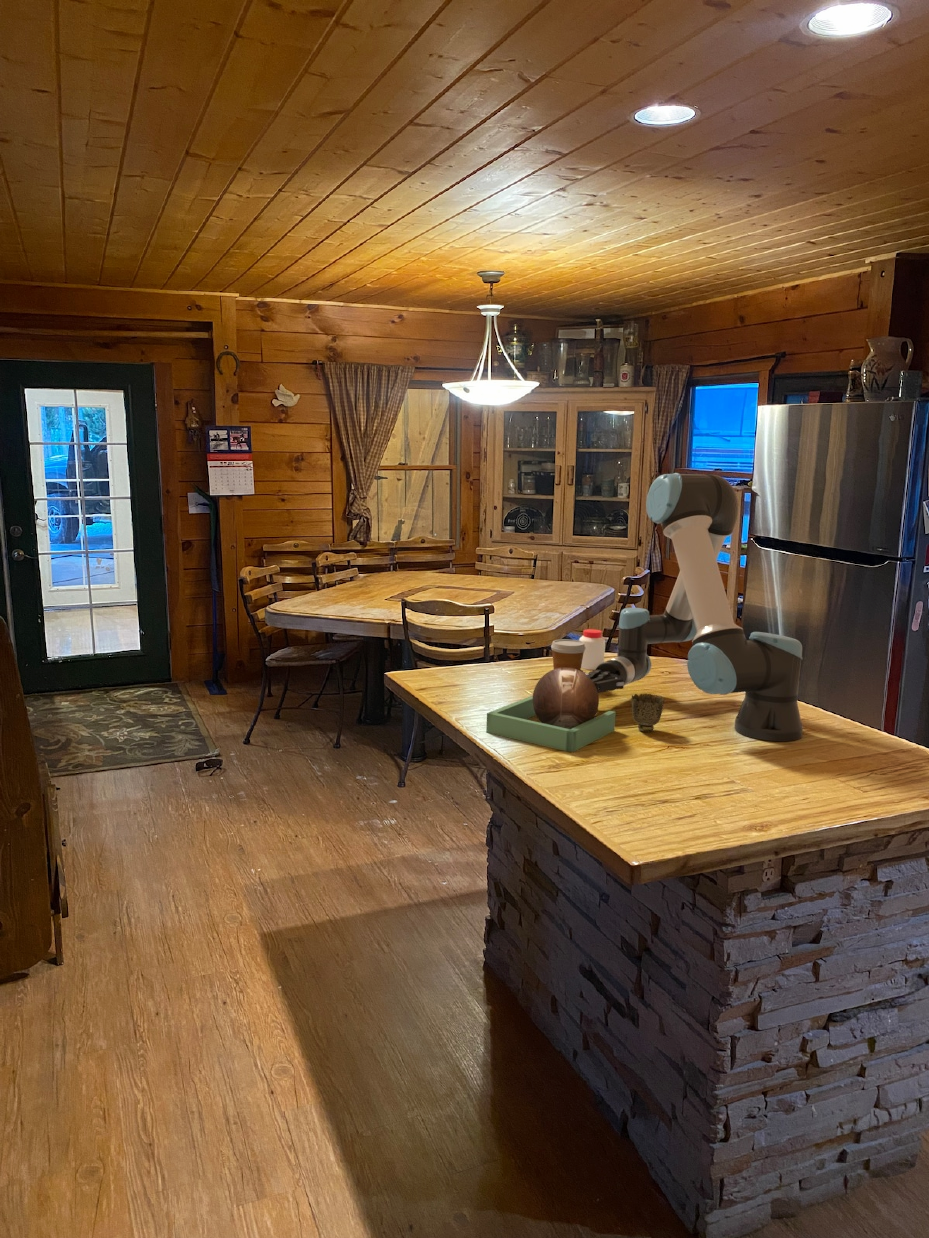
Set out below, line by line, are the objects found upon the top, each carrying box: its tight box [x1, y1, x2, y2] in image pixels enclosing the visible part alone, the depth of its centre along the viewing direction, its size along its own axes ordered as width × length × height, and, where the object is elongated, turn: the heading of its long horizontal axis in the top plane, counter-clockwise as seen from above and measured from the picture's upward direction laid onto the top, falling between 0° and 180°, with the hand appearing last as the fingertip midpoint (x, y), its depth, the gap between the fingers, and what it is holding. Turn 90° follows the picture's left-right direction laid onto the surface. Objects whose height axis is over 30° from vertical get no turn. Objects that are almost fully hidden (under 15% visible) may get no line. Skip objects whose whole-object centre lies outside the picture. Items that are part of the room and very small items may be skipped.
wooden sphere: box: [532, 667, 600, 729], centre depth 209 cm, size 15×15×15 cm
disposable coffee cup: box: [550, 638, 586, 670], centre depth 252 cm, size 10×10×12 cm
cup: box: [631, 693, 665, 733], centre depth 212 cm, size 8×7×8 cm
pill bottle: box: [578, 628, 606, 671], centre depth 274 cm, size 8×8×11 cm
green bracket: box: [485, 695, 617, 753], centre depth 210 cm, size 20×22×4 cm
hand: (568, 691), depth 216 cm, fingers closed
